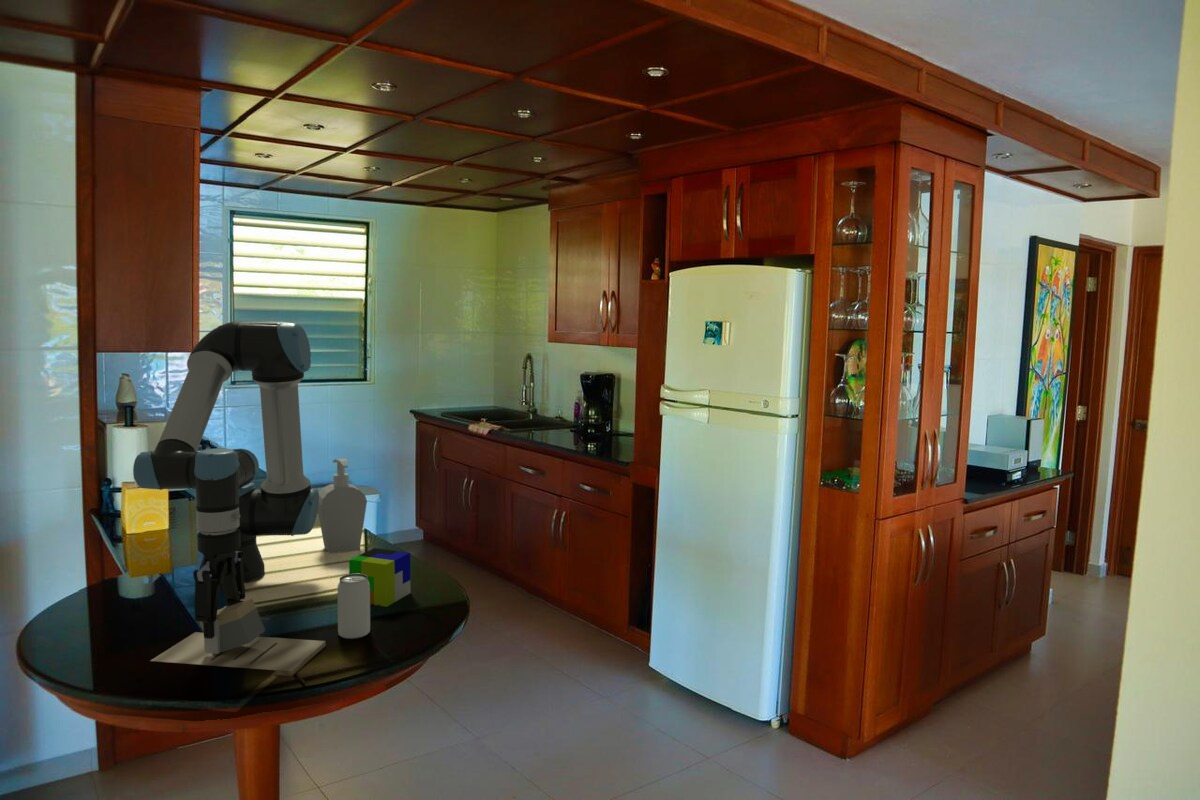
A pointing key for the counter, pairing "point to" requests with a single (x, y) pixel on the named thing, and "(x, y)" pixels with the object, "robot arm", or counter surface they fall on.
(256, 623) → the block
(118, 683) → the counter surface
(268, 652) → the board
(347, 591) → the can
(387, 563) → the puzzle toy
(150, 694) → the counter surface
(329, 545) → the soap bottle
